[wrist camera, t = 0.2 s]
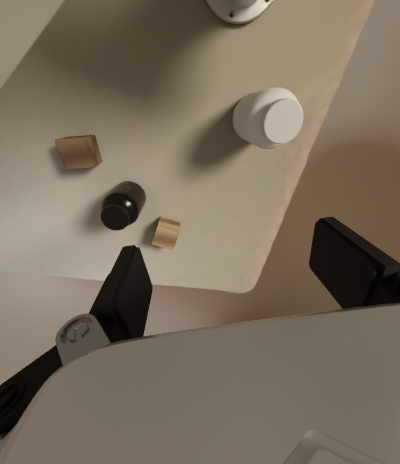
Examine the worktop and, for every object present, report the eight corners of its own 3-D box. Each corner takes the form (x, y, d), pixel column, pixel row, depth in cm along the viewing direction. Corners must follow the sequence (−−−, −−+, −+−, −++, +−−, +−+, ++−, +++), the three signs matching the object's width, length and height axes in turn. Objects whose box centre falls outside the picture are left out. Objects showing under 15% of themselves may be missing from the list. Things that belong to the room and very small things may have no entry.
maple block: (160, 216, 50) (157, 226, 45) (180, 222, 51) (179, 233, 46) (154, 233, 52) (151, 244, 48) (173, 238, 53) (172, 250, 49)
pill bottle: (265, 143, 42) (299, 158, 29) (227, 136, 41) (245, 148, 28) (279, 97, 38) (325, 91, 25) (237, 88, 37) (263, 77, 24)
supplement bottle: (150, 206, 48) (139, 233, 38) (121, 211, 48) (102, 238, 38) (141, 177, 45) (127, 198, 34) (110, 182, 45) (87, 204, 34)
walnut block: (69, 136, 40) (54, 139, 36) (94, 134, 40) (83, 137, 36) (78, 163, 43) (65, 169, 38) (102, 161, 43) (92, 167, 38)
